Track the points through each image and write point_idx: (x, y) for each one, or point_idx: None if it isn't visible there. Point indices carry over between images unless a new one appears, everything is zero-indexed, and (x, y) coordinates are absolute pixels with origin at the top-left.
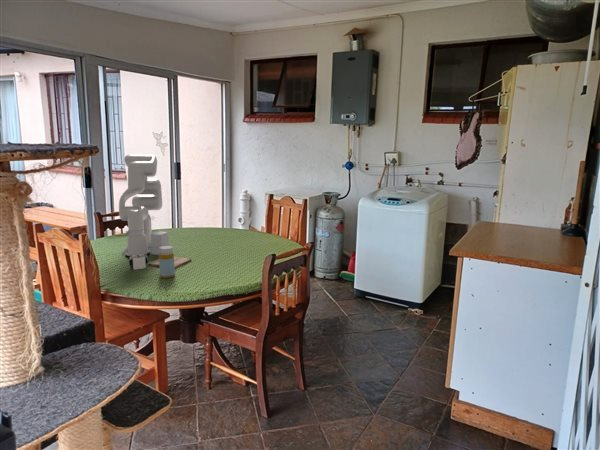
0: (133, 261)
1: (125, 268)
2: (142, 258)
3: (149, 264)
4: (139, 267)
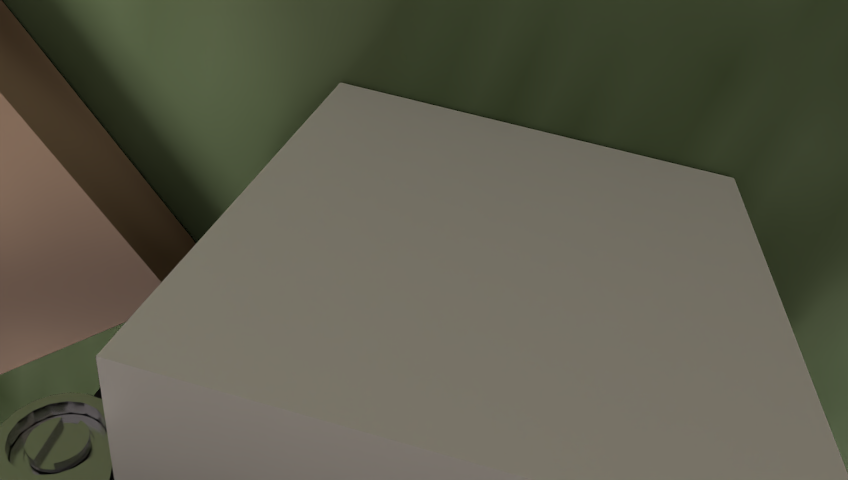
0: (817, 411)
1: (838, 435)
2: (287, 352)
3: (166, 250)
4: (538, 157)
